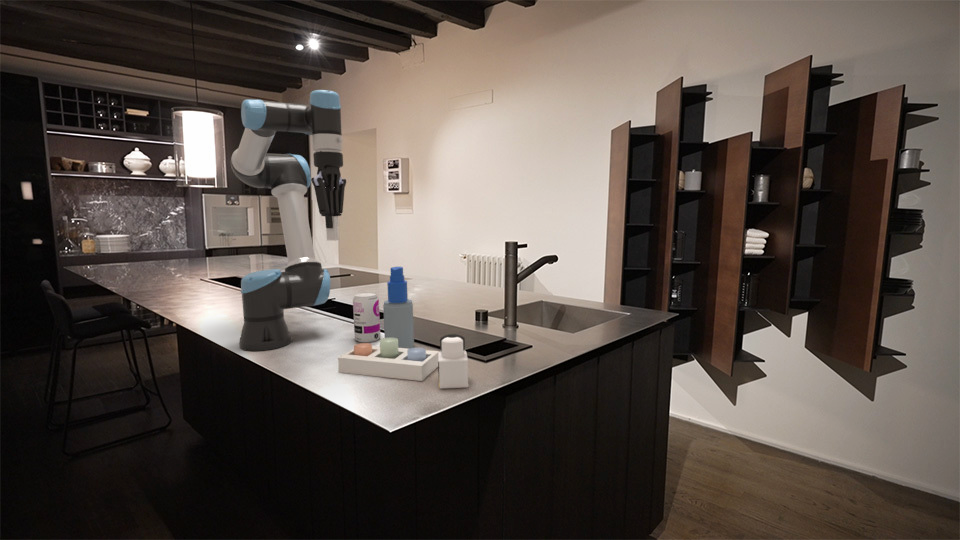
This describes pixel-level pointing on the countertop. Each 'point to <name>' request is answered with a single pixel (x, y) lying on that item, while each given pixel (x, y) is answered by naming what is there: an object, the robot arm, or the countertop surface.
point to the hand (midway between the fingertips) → (332, 240)
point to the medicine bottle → (452, 362)
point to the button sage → (389, 348)
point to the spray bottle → (398, 311)
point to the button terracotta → (363, 349)
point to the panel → (388, 365)
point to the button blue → (416, 354)
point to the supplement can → (366, 317)
